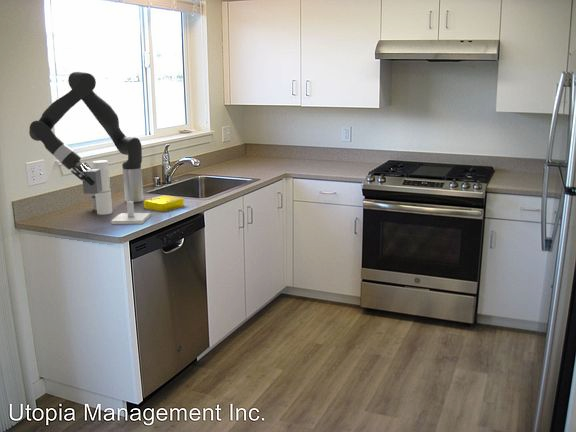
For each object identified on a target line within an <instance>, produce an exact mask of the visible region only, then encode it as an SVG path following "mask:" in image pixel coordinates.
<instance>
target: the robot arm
mask: <svg viewBox="0 0 576 432" xmlns="http://www.w3.org/2000/svg"><path fill="white" fill-rule="evenodd" d="M96 82H97V81H96V78H95V76H94V75H92V74H91V73H89V72H83V71H73V72H72V73H70V74H69V75H68V81H67V83H68V85H69V87H70V89H71V90H70V91H68V92H66V94H63V95H62V96H61V97H59V98H57V99H55V101H53V102H52V103H51V104H50V105H49V106H48V107H47V108H46V109H45V111H43V113H42V114H41V116H40V118H39V119H38V120H33V121H32V122H31V123H30V125H29V128H28V129H29V131H28V133H29V136H30V138H31V140H34V141H36V142H41V143H42V144H43V145H44V148H45V149H46V150H47V151H48V152H49V153H50V154H51V155H52V156H53V157H54V158H55V159H56V160H58V162H60V163H61V165H62V166H64V168H66V169H67V170H69V171H70V172H71V173H72V174H73V175H74V176H75V177H77V178H78V179H79V180H80V181H82V180H85V181H86V182H87V183H89V184H90V185H91V186H92V185H93V184H94V183H95V182H94V181H93V180H92V179H91V178H90V177H88V175H87V174H86V173H85V170H87V169H93V167H91V166H90V165H89V164H88V163H87V162H84V163H83V162H81V160H82V158H81V156H79V154H78V153H77V152H75V151H74V150H73V149H72V148H71V147H69V146H68V145H67V144H65V143H64V142H63V141H62V140H61V139H60V138H59V137H58V136H57V135H56V134H55V133H54V132H53V128H54V127H55V125H56V124H58V122H59V121H60V120H61V119H62V118H63V117H64V116H65V115H66V113H67V112H69V110H71V109H72V108H73V107H74V106H75V105H77V103H78V102H80V101H82V102H83V103H84V104H85V105H86V107H87V109H89V111H90V112H91V114H92V115H93V116H94V117H95V120H96V121H97V122H98V123H99V124H100V126H101V127H102V128H103V129H104V131H105V132H106V134H107V135H108V136H109V137H110V139H111V141H112V142H113V144H114V146H115V148H116V149H117V151H118V152H119V153H120V154H122V155H126V156H127V160H126V161H124V162H122V164H121V165H122V174H123V175H122V176H123V186H124V187H123V188H124V200H125V202H126V203H127V202H128V201H133V203H138V202H144V190H143V188H144V187H143V175H142V161H143V154H142V152H143V151H142V150H143V147H142V143H141V140H140V139H139V138H138V137H135V136H126V135H125V134H124V132H123V131H122V130H121V128H120V121H119V117H118V113H116V111H115V110H114V108H113V107H112V106H111V105H110V104H109V103H108V102H107V101H106V100H104V99H103V98H102V97H100V96H99V95H98V94H97V93H95V91H94V89H95V87H96V84H97V83H96ZM82 171H83V172H82Z"/></svg>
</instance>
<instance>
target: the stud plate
mask: <svg viewBox="0 0 576 432" xmlns="http://www.w3.org/2000/svg"><path fill="white" fill-rule="evenodd" d="M126 209H127V210H126V212H121V213H119V214H118V215H116V216H115V217H114V218H113V219H112V220H111V221H110V223H111V225H143V224H144V223H145V222H147V220H148V219H149V218H150V217H151V212H135V206H134V202H133V201H128V202H126Z"/></svg>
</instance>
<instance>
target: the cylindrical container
mask: <svg viewBox="0 0 576 432" xmlns="http://www.w3.org/2000/svg"><path fill="white" fill-rule="evenodd" d="M91 164H92V169H100V172H101V182H102V191H101V192H99V193H98V194H94V195H95V197H96V207H97V210H96V214H97V215H102V216H103V215H110V214H113V203H112V202H113V201H112V191H111V179H110V170H109V160H104V159H102V160H101V159H100V160H98V159H97V160H93V161H92V162H91Z"/></svg>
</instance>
